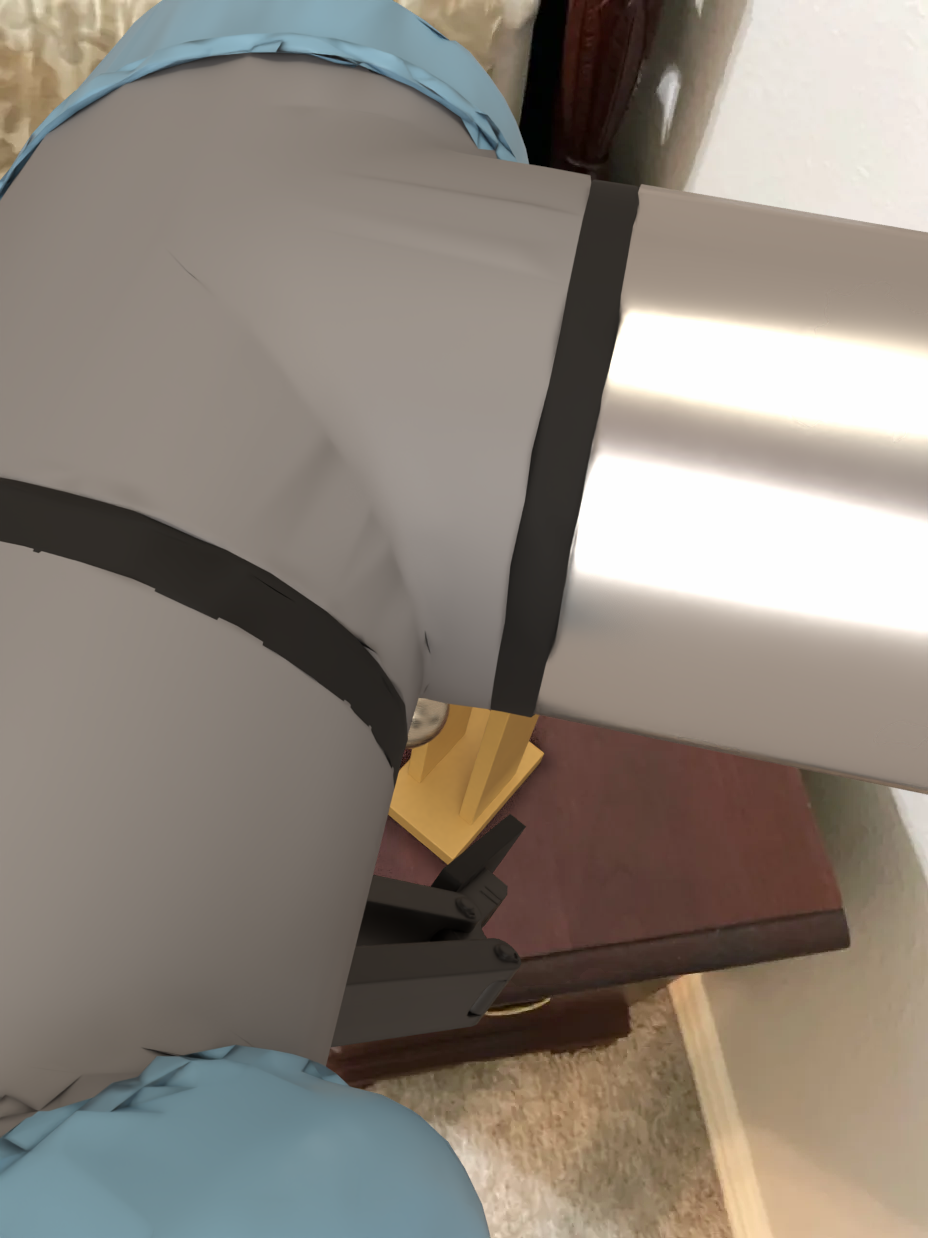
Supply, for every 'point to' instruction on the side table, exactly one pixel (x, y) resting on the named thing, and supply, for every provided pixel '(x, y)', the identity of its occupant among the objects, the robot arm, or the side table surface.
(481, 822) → the lever stand
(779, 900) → the side table surface
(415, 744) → the tap lever
